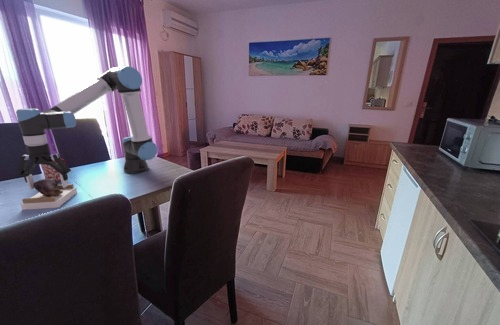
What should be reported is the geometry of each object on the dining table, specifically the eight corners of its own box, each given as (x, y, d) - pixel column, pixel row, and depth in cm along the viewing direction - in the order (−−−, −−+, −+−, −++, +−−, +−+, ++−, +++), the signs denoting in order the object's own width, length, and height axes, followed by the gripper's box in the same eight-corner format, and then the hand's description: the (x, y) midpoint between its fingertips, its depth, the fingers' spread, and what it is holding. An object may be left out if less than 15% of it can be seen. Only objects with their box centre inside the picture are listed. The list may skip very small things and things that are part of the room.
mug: (52, 184, 126) (46, 162, 122) (40, 182, 128) (34, 160, 124) (74, 177, 137) (69, 156, 133) (63, 175, 140) (58, 154, 136)
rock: (63, 190, 115) (36, 195, 108) (59, 174, 113) (32, 178, 107) (63, 195, 106) (34, 200, 99) (60, 177, 104) (30, 182, 98)
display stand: (77, 192, 117) (75, 183, 115) (58, 207, 102) (55, 197, 100) (46, 194, 114) (43, 185, 113) (22, 209, 99) (19, 199, 98)
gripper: (73, 141, 106) (82, 182, 112) (10, 143, 101) (24, 186, 107) (63, 145, 99) (74, 189, 105) (-4, 147, 94) (12, 192, 100)
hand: (49, 187), depth 106 cm, fingers open, 13 cm apart
